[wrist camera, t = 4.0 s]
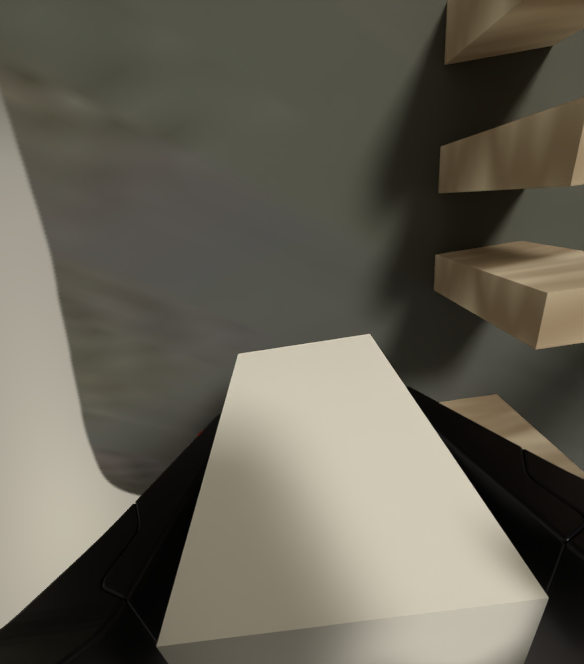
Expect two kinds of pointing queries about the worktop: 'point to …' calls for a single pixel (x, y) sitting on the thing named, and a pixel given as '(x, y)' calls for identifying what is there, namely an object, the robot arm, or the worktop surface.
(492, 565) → the domino
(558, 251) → the domino
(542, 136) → the domino
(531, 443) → the domino
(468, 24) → the domino
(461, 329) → the worktop surface
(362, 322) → the worktop surface
